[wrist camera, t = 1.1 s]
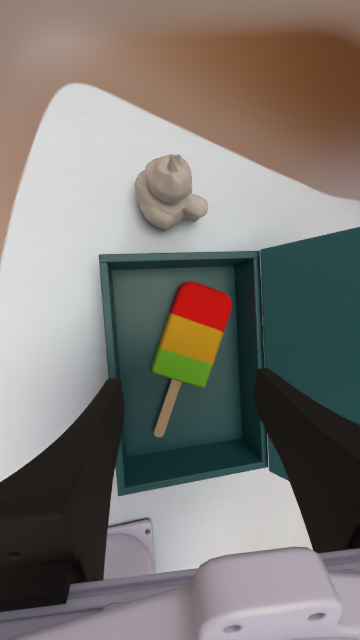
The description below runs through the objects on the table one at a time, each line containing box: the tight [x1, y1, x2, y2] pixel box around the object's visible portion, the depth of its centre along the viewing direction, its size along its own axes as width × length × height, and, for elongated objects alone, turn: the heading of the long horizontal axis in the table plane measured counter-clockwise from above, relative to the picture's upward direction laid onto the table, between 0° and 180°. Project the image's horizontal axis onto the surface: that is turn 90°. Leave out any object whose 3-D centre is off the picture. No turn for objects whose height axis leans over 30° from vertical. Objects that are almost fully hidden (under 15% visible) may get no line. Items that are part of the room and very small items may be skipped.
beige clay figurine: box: [135, 155, 208, 230], centre depth 21 cm, size 5×7×8 cm
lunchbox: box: [99, 251, 268, 496], centre depth 23 cm, size 13×19×5 cm
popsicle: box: [151, 281, 232, 437], centre depth 24 cm, size 6×15×2 cm, turn 161°
